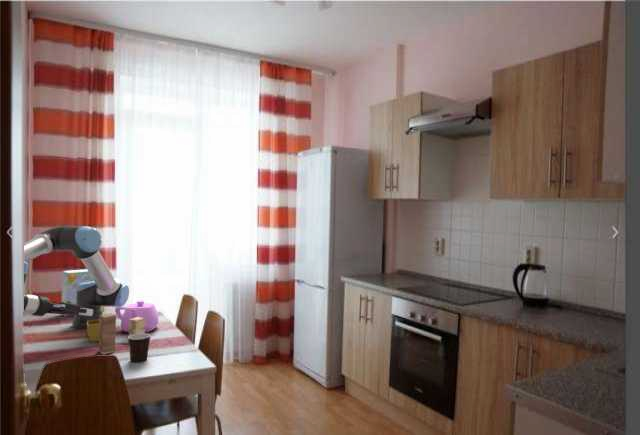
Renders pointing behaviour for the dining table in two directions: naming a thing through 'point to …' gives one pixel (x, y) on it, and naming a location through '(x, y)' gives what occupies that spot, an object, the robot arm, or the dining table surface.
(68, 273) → the snack box
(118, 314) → the teapot
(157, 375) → the dining table surface
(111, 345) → the walnut block
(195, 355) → the dining table surface
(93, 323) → the flower pot
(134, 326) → the oak block
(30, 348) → the dining table surface
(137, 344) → the coffee mug
